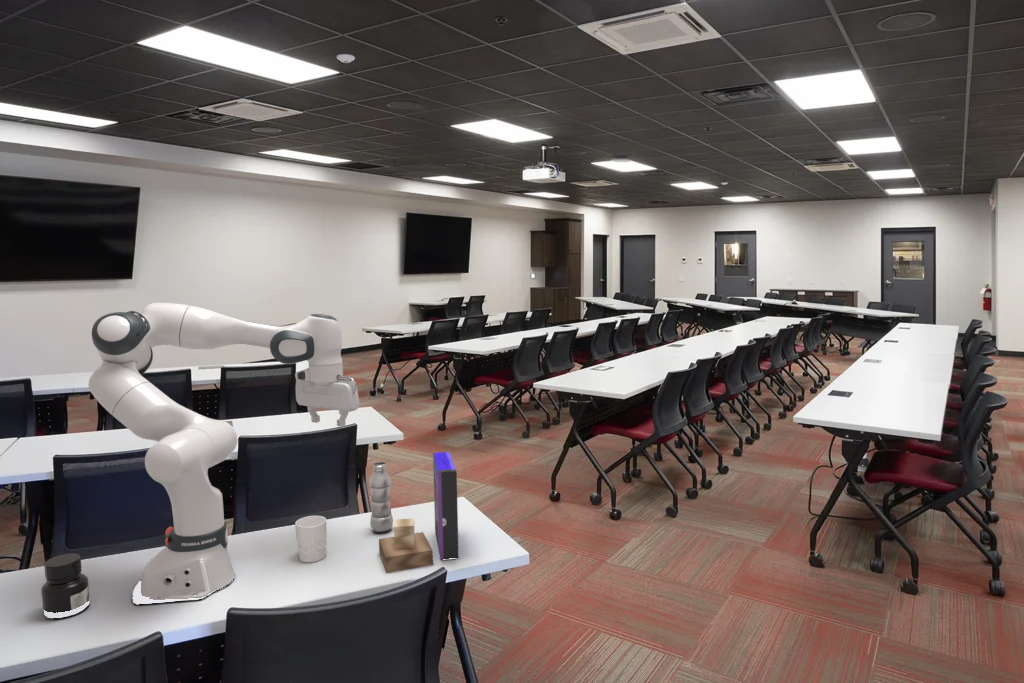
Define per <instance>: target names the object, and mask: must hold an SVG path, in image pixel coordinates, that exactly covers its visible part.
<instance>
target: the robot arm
mask: <svg viewBox="0 0 1024 683" xmlns="http://www.w3.org/2000/svg"><path fill="white" fill-rule="evenodd" d="M341 332H342V331H341V327H340V323H339V320H338V319H337V318H336V317H335V316H332V315H329V314H324V313H312V314H310V315H308V316H307V317H306V318H304V319H303V320H301V321H299V322H293V323H288V324H284V325H272V324H271V325H270V324H265V323H259V322H252V321H246V320H241V319H238V318H234V317H232V316H229V315H225V314H222V313H219V312H216V311H215V310H214V311H213V310H211V309H207V308H204V307H199V306H194V305H189V304H183V303H175V302H174V303H173V302H152V303H149V304H148V305H146V306H144V308H143V309H142V311H141V312H140V313H139V312H138V311H136V310H129V311H125V312H123V311H122V312H121V311H116V312H110V313H107V314H104V315H101V317H99V318H98V319H96V320H95V322H94V323H93V325H92V328H91V340H92V343H93V345H94V346H95V348H96V350H97V352H98V355H99V356H100V358H101V359H102V364H101V365H100V366H99V367H98V368H97V369H96V370H95V371H94V372H93V373H92V374H90V375H91V376H90V378H89V380H88V390H89V392H90V393H91V395H93V397H94V398H95V399H96V401H97V402H98V403H99V404H100V405H101V406H102V407H103V408H104V409H105V411H107V412H108V413H109V414H110V415H111V416H112V417H113V418H115V419H116V420H117V421H118V422H119V423H121V424H122V425H123V426H124V427H125V428H126V429H128V430H129V431H130V432H131V433H132V434H134V435H135V436H137V437H138V438H141V439H143V440H144V439H145V440H150V441H156V443H155V444H153V445H151V447H149V448H148V450H147V451H146V454H145V457H144V467H145V469H146V470H145V471H146V472H147V474H148V475H149V476H150V478H152V479H153V480H154V481H155V482H157V483H159V484H160V485H162V486H163V487H164V489H165V490H166V492H167V495H168V497H169V501H170V504H171V510H172V519H173V526H168V528H166V530H165V534H164V535H165V538H164V539H165V540H164V541H165V547H164V548H163V549H162V550H160V551H159V552H158V553H157V554H156V555H154V556H153V557H152V558H151V559H150V560H148V562H147V563H146V565H145V566H144V569H143V572H142V576H141V579H142V582H141V594H142V596H145V597H150V598H149V599H153V600H165V599H188V598H202V597H205V596H207V595H208V594H209V593H211V592H213V591H215V590H218V589H220V588H222V587H224V586H226V585H227V584H229V583H230V582H231V581H232V582H233V581H234V580H235V578H236V573H235V571H234V569H233V566H232V563H231V560H230V555H229V550H228V544H229V537H228V536H229V535H228V528H227V522H226V521H225V517H224V516H225V514H224V500H223V493H222V492H221V490H220V489H218V488H217V487H215V486H213V485H212V483H211V482H210V478H209V474H208V470H209V468H212V467H214V466H216V465H218V464H220V463H222V462H224V460H226V459H227V458H228V457H229V456H230V455H231V454H232V453H233V452H234V450H235V449H236V447H237V444H238V435H237V432H236V430H235V428H234V427H233V426H232V425H231V424H230V423H229V422H226V421H224V420H220V419H214V418H210V417H208V416H205V415H202V414H199V413H198V412H196V411H193V410H192V409H190V408H187V407H185V406H184V405H181V404H179V403H177V402H176V401H175V400H173V399H172V398H170V397H169V396H168V395H167V394H165V393H164V392H163V391H162V390H160V389H159V388H158V387H157V386H155V385H154V384H153V383H151V382H150V381H149V380H148V379H146V378H145V377H144V376H143V375H144V374H145V373H146V372H147V371H148V369H150V367H151V364H152V362H153V359H154V357H153V356H154V354H153V352H154V351H153V348H154V347H157V346H163V345H166V346H174V347H178V348H184V349H190V350H213V349H218V348H222V347H226V346H230V345H249V346H255V347H260V348H261V347H262V348H267V349H269V350H270V354H271V356H272V357H273V358H274V359H275V360H276V361H277V362H279V363H281V364H285V365H292V364H293V365H294V364H297V363H300V362H306V361H307V362H308V368H305V369H302V370H300V371H295V374H294V376H295V379H296V382H295V400H296V402H297V404H298V405H299V406H305V407H307V411H308V413H309V415H310V417H311V420H310V421H311V423H314V424H315V423H316V424H317V423H319V422H321V419H320V418H321V416H320V415H319V414H318V413H317V409H319V408H320V409H326V410H334V411H338V414H339V415H340V416H339V419H336V425H337V427H339V428H340V427H341V428H342V427H345V426H346V419H347V417H348V415H349V413H351V412H355V411H358V409H359V407H360V397H359V392H358V388H357V382H356V381H355V379H354V378H353V377H352V376H349V375H347V376H345V375H344V369H343V367H344V366H343V363H344V362H343V358H342V355H341V354H342V352H341V351H342V349H343V348H342V346H343V344H342V343H343V342H342V333H341ZM234 577H235V578H234ZM233 579H234V580H233ZM232 582H231V583H232ZM231 583H230V584H231ZM230 584H229V585H230ZM226 587H227V586H226ZM224 588H225V587H224ZM222 589H223V588H222ZM220 590H221V589H220ZM218 591H219V590H218ZM194 595H196V596H194Z"/></svg>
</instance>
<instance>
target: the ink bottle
mask: <svg viewBox="0 0 1024 683" xmlns="http://www.w3.org/2000/svg"><path fill="white" fill-rule="evenodd" d="M43 566H44V574H45V575H44V576H45V580H46V582H45V583H44V584H42V587H41V601H42V610H43V609H44V610H45V611H47V612H53V613H56V612H57V613H58V612H65V611H70V610H73V609H76V608H78V607H80V606H82V605H84V604H85V603H86V602H88V601H89V599H90V600H91V594H90V593H91V592H90V586H89V585H90V584H89V578H88V576H87V575H86V574H84V573H82V570H83V569H82V568H83V567H82V560H81V555H80V554H79V553H65V554H59V555H56V556H54V557H51V558H49V559H47V560H46V561H44V564H43Z"/></svg>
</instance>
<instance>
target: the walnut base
mask: <svg viewBox="0 0 1024 683" xmlns="http://www.w3.org/2000/svg"><path fill="white" fill-rule="evenodd" d="M378 548H379V549H378V553H379V556H380V559H381V561H382V563H383V567H384V569H385V573H392V572H398V571H404V570H411V569H416V568H422V567H423V568H424V567H427V566H433V565H434V550H433V548H432V546H431V544H430V542H429V540H428V539H427V537H426V535H425V533H424V532H423V531H422V532H417V533H416V532H415V544H414V548H406V549H395V543H394V536H389V537H382V538H378Z"/></svg>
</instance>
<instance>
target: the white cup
mask: <svg viewBox="0 0 1024 683" xmlns="http://www.w3.org/2000/svg"><path fill="white" fill-rule="evenodd" d="M294 526H295V534H296V545H297V550H298V556H299V561H301V562H302V563H316V562H319V561H321V560H323V559H325V557H326V556H327V551H326V550H327V549H326V548H327V547H326V546H327V518H326V517H325V516H322V515H309V516H305V517H301V518H298V519H297V520H296V521H295V523H294Z"/></svg>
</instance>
